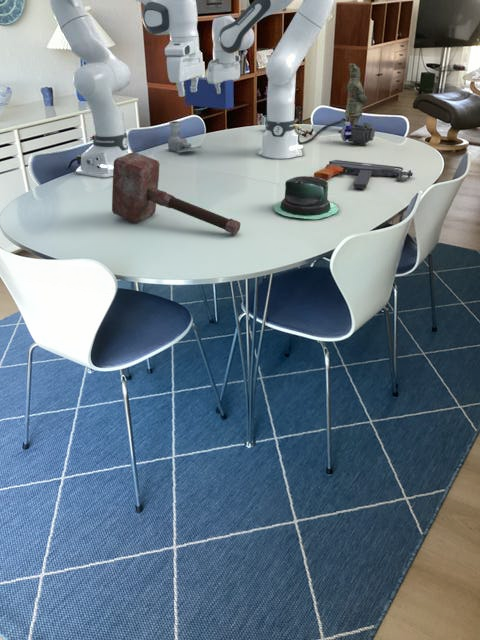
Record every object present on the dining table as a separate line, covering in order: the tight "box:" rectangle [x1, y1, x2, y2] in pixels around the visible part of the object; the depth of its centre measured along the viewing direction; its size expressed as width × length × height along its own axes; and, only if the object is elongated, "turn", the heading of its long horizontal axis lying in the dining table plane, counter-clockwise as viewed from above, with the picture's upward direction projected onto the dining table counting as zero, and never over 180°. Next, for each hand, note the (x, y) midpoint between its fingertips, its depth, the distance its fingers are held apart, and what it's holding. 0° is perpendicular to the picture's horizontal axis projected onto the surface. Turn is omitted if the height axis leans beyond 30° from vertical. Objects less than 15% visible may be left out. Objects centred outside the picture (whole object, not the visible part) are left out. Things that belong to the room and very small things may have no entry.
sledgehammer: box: [111, 151, 241, 236], centre depth 161 cm, size 17×10×40 cm
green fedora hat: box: [273, 175, 339, 220], centre depth 172 cm, size 15×19×20 cm
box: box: [183, 76, 235, 110], centre depth 250 cm, size 23×6×12 cm, turn 56°
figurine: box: [295, 118, 314, 138], centre depth 267 cm, size 13×8×25 cm
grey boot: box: [167, 120, 203, 154], centre depth 238 cm, size 9×12×15 cm
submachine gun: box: [313, 159, 414, 190], centre depth 199 cm, size 32×3×25 cm
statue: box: [344, 62, 368, 127], centre depth 262 cm, size 11×9×30 cm
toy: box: [338, 121, 376, 146], centre depth 244 cm, size 9×9×15 cm
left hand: (188, 94), depth 181 cm, fingers open, 8 cm apart
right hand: (224, 92), depth 245 cm, fingers closed on box, 6 cm apart
